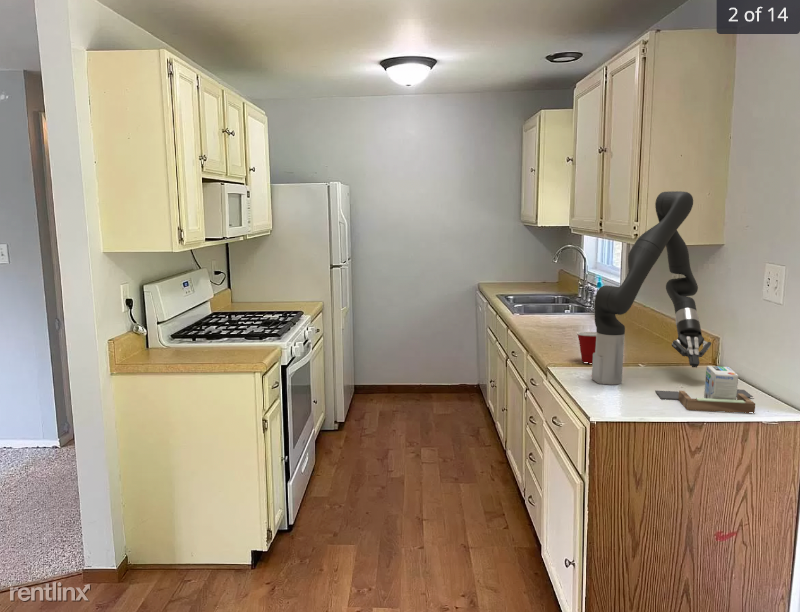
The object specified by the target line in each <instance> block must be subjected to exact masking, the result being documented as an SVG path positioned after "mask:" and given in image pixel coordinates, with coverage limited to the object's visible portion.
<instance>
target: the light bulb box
mask: <svg viewBox="0 0 800 612" xmlns="http://www.w3.org/2000/svg"><path fill="white" fill-rule="evenodd" d="M704 380H705V382H704V392H703V393H704V394H703V398H710V399H729V400H737V398H736V395H737V389H738V386H739V385H738V382H739V374H737V372H736V371H735V370H733V369H732V368H731V367H729V366H718V365H706V370H705V379H704Z"/></svg>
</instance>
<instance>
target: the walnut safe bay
mask: <svg viewBox="0 0 800 612" xmlns="http://www.w3.org/2000/svg"><path fill="white" fill-rule="evenodd" d="M678 392H679V400H678V401H679V402H680V403H681V405H682V406H683V407H684V408H685V409H686V410H687V411H699V412H716V411H725V412H724V413H734V412H744V413H743V414H750V413H749V412H753V413H754V412H755V411H756V403H755V402H754V401H753V400H751V398H748V397H746V396H745V395H744V394H739V393H738V394H737V398H736V400H729V399H710V398H704V397H696V398H691V397H690V395H689V394H688V393H687V392H686V391H685V390H678ZM745 412H746V413H745ZM754 414H755V413H754Z"/></svg>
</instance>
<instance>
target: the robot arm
mask: <svg viewBox="0 0 800 612" xmlns="http://www.w3.org/2000/svg"><path fill="white" fill-rule="evenodd" d="M654 204H655V205H654V207H655V213H656V216H657V220H658V223H657V224H655V225H654V226H652V227H650V228H649V229H647V231H646V230H645V232H643V233H642V234H641V235H640V236H639V237H638V238H636V239H637V240H636V241H635V242H634V244H633V246H632V247H631V248H630V250H629V252H628V256H627V265H628V266H627V267H628V268H627V270H628V271H627V274H626V276H625V279H624V280H623V282H622V283H621V285H619V286H616V285H614V286H613V285H602V286H600V287H599V288H598V290H596V293H595V297H594V324H595V328H596V331H595V332H596V349H595V353H593V362H592V364H591V365H592V367H591V380H592V381H594V382H595V383H597V384H599V385H600V384H602V385H603V384H604V385H610V386H611V385H613V386H614V385H620V384H622V382H623V367H624V349H625V333H626V327H625V324H623V323H622V322H621V321H620V320H619V319H618V318H617V316H616V315H619V316H622V315H625V314H626V313H627V312H628V311H630V309H631V307H632V306H633V303H634V302H635V299H636V297H637V295H638V294H639V292H640V290H641V287H642V285H643V284H644V283H645V280H646V278H647V277H648V275H649V274H650V272H651V270H652V269H653V267H654V266H655V264H656V263H657V261H658V259H659V258H660V256H661V254H662V253H663V251H664V249H665V248H666V253H667V263H668V271H669V272H670V273H671V274H674V275H682V276H684V277H677V278H672V279H671V278H670V279H668V281H666V283H665V290H666V293H667V295H668V297H669V299H671V302H672V304H673V308H674V313H675V314H674V315H675V327H676V330H677V339H674V340H673V341H672V343H671V347H673V348H674V350H676V352H678V353H679V354H680V355H681V356H682V357H686V358H688V364H689V365H690V366H691V368H698V366H699V365H700V359H699V358H702V357H704V355H705V354H706V352H708V350H709V349H710V347H711V346H712V342H711V341H706V340H705V337H704V336H703V334H702V328H701V321H700V317H699V314H698V312H697V307H696V306H697V305H696V301H695V299H694V298H693V296H695V295H696V294H697V292H698V289H699V287H698V286H699V285H698V283H697V281H696V280H697V279H695V276H694V275H693V271H692V269H691V263H690V253H689V249H688V246H687V244H686V242H685V240H684V239H683V237H682V235H681V234H680V233H679V231H678V229H679V228H680V226H681V225H682V224H683V223H684V222H685V220H686V219H687V217H688V216H689V214H690V213H691V211H692V208H693V205H694V197H693V195H692V194H691V193H690V192H688V191H681V190H680V191H678V190H677V191H676V190H675V191H674V190H671V191H669V190H668V191H661V192H660V193H659V194H658V195H657V197H656V200H655V203H654ZM691 296H692V297H691ZM701 345H702V348H701V350H700V351H699V348H700V347H701Z"/></svg>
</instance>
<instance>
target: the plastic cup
mask: <svg viewBox="0 0 800 612" xmlns="http://www.w3.org/2000/svg"><path fill="white" fill-rule="evenodd" d="M576 335H577V338H578V342H579V349H580V357H581V362H582V361H583V362H588V363H592V362H593V353H595V349H596V331H578V332H576ZM583 362H582V363H583Z"/></svg>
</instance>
